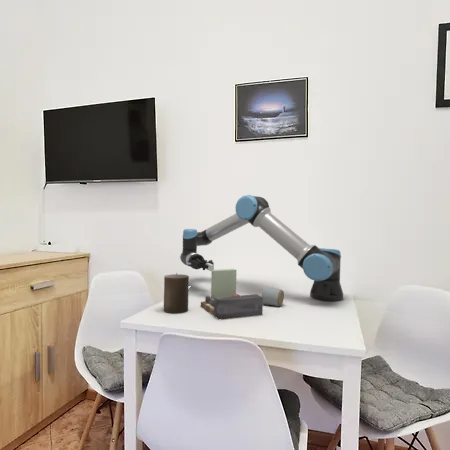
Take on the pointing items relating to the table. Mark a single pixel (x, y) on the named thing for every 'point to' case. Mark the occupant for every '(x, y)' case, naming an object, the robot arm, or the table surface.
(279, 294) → the grey cylinder
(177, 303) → the pillar candle
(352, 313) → the table surface
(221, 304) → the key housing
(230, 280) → the sage green upright block
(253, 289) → the table surface
